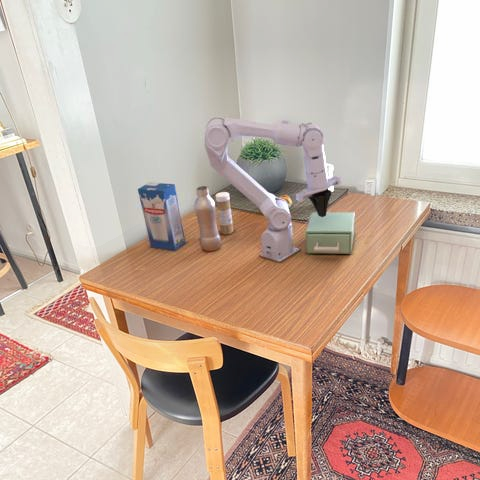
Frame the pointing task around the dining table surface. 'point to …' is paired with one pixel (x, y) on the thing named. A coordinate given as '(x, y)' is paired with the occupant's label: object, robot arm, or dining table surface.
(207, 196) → the plastic bottle
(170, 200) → the milk carton
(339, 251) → the drawer
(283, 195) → the pastry
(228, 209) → the sprinkles bottle
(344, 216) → the cabinet
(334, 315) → the dining table surface
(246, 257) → the dining table surface
